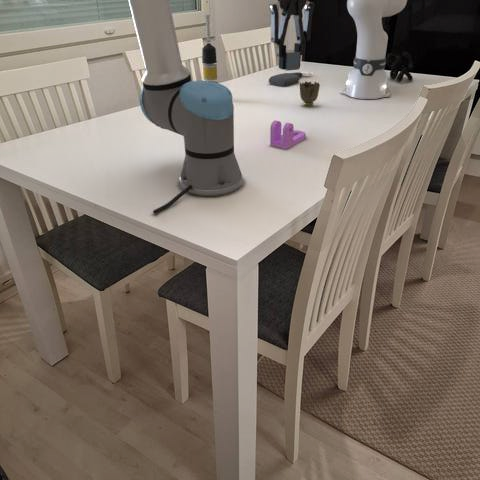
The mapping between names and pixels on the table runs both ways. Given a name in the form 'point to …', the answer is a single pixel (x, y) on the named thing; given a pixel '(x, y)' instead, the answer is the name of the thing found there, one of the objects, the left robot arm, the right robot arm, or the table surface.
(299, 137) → the bracket
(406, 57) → the squiggle
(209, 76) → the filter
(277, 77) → the spray bottle
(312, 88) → the cup
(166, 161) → the table surface
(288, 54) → the block
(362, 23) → the right robot arm
